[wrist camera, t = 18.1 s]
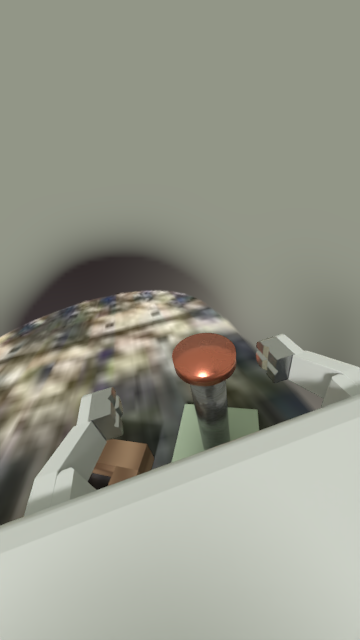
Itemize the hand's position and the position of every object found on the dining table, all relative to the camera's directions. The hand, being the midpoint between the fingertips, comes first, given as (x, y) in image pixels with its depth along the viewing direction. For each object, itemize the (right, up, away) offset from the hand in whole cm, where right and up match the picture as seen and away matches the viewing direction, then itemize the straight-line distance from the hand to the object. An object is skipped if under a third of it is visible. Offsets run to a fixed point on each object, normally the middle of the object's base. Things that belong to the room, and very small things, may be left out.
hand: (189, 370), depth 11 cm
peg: (+5, -15, +19) cm, 25 cm away
